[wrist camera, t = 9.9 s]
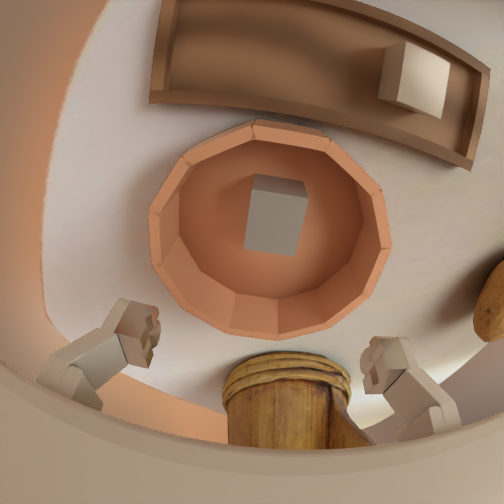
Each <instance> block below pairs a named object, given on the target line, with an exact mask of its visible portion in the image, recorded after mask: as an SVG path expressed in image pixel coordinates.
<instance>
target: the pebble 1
mask: <svg viewBox="0 0 504 504" xmlns="http://www.w3.org/2000/svg"><path fill="white" fill-rule="evenodd" d="M308 199H309V198H308V195H307V192H306V188H305V185H304V182H303V181H299V180H293V179H287V178H281V177H275V176H269V175H263V174H256V173H255V177H254V182H253V186H252V191H251V198H250V205H249V212H248V219H247V227H246V234H245V241H244V248H243V249H248V250H254V251H261V252H267V253H274V254H280V255H287V256H293V257H295V253H296V249H297V245H298V241H299V237H300V233H301V229H302V225H303V220H304V216H305V212H306V208H307V204H308Z"/></svg>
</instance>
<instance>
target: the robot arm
mask: <svg viewBox="0 0 504 504" xmlns="http://www.w3.org/2000/svg"><path fill="white" fill-rule="evenodd" d="M158 315H159V312H158V308H157V307H154V306H150V305H146V304H142V303H138V302H134V301H130V300H126V299H122V298H120V299H119V300H117V301H116V303H115V305H114V306H113V308H112V310H111V312H110V313H109V315H108V317H107V318H106V320H105V322H104V324H103V325H102V327H101V329H99V328H96V329H95V330H93V331H91V332H89V333H88V334H86V335H84V336H82V337H81V338H79V339H77V340H75V341H74V342H72V343H70V344H69V345H67V346H65V347H63V348H62V349H60V350H58V351H56V352H55V353H53V354H51V355H50V357H49V358H48V360H47V362H46V364H45V366H44V367H43V369H42V371H41V373H40V375H39V377H38V378H37V380H36V381H34V380H32V379H30V378H29V377H27V376H25V375H23V374H22V373H20V372H18V371H17V370H15V369H14V368H12V367H10V366H9V365H7V364H6V363H4V362H2V361H1V360H0V504H504V412H501V413H499V414H496V415H494V416H492V417H489V418H487V419H484V420H481V421H478V422H475V423H473V424H469V425H466V426H463V427H462V424H461V420H460V417H459V414H458V410H457V407H456V404H455V401H454V400H453V399H452V398H451V397H450V396H449V395H448V394H446V392H445V391H444V390H443V389H442V388H441V387H440V386H439V385H438V384H437V383H436V382H435V381H434V380H433V379H432V378H431V377H430V376H429V375H428V374H427V373H426V372H425V371H424V370H423V369H419V367H418V364H417V361H416V358H415V355H414V352H413V350H412V347H411V344H410V342H409V339H408V338H407V337H385V336H375V337H373V338H372V339H371V340H370V342H369V343H370V346H369V347H368V348H366V349H365V350H364V351H363V353H362V354H361V358H360V369H361V372H362V373H363V374H364V375H365V377H364V379H363V385H364V390H365V394H383V396H384V397H385V399H386V400H387V402H388V403H389V404H390V406H391V407H392V408H393V410H394V411H395V413H396V414H397V415H398V417H399V418H400V420H401V421H402V422H403V424H404V425H405V428H403V429H402V430H400V431H399V432H398V433H397V434H396V438H397V442H396V443H390V444H384V445H376V446H367V447H357V448H345V449H324V450H289V449H269V448H256V447H246V446H237V445H229V444H222V443H215V442H210V441H204V440H198V439H193V438H188V437H183V436H178V435H175V434H171V433H166V432H163V431H158V430H155V429H151V428H148V427H144V426H141V425H138V424H134V423H131V422H128V421H125V420H122V419H119V418H116V417H113V416H111V415H108V414H105V413H103V412H101V409H102V407H103V402H102V400H101V399H100V397H99V396H98V394H97V393H96V390H97V389H98V388H100V387H101V386H102V385H103V384H104V383H106V382H107V381H108V380H110V379H111V378H112V377H113V376H114V375H115V374H117V373H118V372H119V371H121V370H122V369H123V368H124V367H126V366H127V365H128V364H131V365H135V366H139V367H143V368H147V369H148V368H149V365H150V363H151V360H152V357H153V351H152V348H154V347H156V346H157V344H158V341H159V337H160V332H161V326H160V322H159V321H158V319H157V317H158Z"/></svg>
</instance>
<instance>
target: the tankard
mask: <svg viewBox="0 0 504 504" xmlns="http://www.w3.org/2000/svg"><path fill="white" fill-rule="evenodd" d="M350 382H351V379H350V376H349V374H348V372H347V370H345V369H344V368H343V367H341V366H340V365H339V364H337V363H335V362H333V361H331V360H328V359H327V358H326V357H324V356H321V355H316V354H311V353H302V352H274V353H268V354H264V355H261V356H258V357H255V358H252V359H249V360H247V361H245V362H243V363H242V364H240V365H239V366H237V367H236V368H234V369H233V370H232V371H231V373H230V374H229V376H228V378H227V380H226V383H225V385H224V387H223V393H222V398H223V402H222V403H223V406H224V409H225V411H226V412H227V415H228V444H229V445H237V446H246V447H256V448H269V449H289V450H324V449H345V448H357V447H367V446H376V443H374V441H373V440H372V439H371V438H370V437H369V436H368V435H367V434H365V433H364V432H363V431H362V430H361V429H359V427H358V426H357V425H356V424H355V423H354V422H353V421H352V420H351V418H350V417H349V415H348V413H347V407H348V405H349V402H350V398H351V389H350Z"/></svg>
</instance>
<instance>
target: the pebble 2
mask: <svg viewBox="0 0 504 504" xmlns="http://www.w3.org/2000/svg"><path fill="white" fill-rule="evenodd" d="M449 68H450V63H449V62H447V61H446V60H444V59H442V58H440V57H438V56H436V55H434V54H433V53H431V52H429V51H427V50H425V49H422V48H420V47H418V46H416V45H414V44H412V43H410V42H407V41H404V42H401V43H398V44H395V45H391V46H388V47H386V48H385V55H384V62H383V68H382V74H381V80H380V86H379V92H378V97H377V99H380V100H383V101H386V102H389V103H391V104H394V105H397V106H400V107H402V108H405V109H407V110H410V111H413V112H415V113H418V114H422V115H426V116H430V117H434V118H438V119H441V116H442V111H443V106H444V101H445V95H446V89H447V83H448V76H449Z"/></svg>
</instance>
